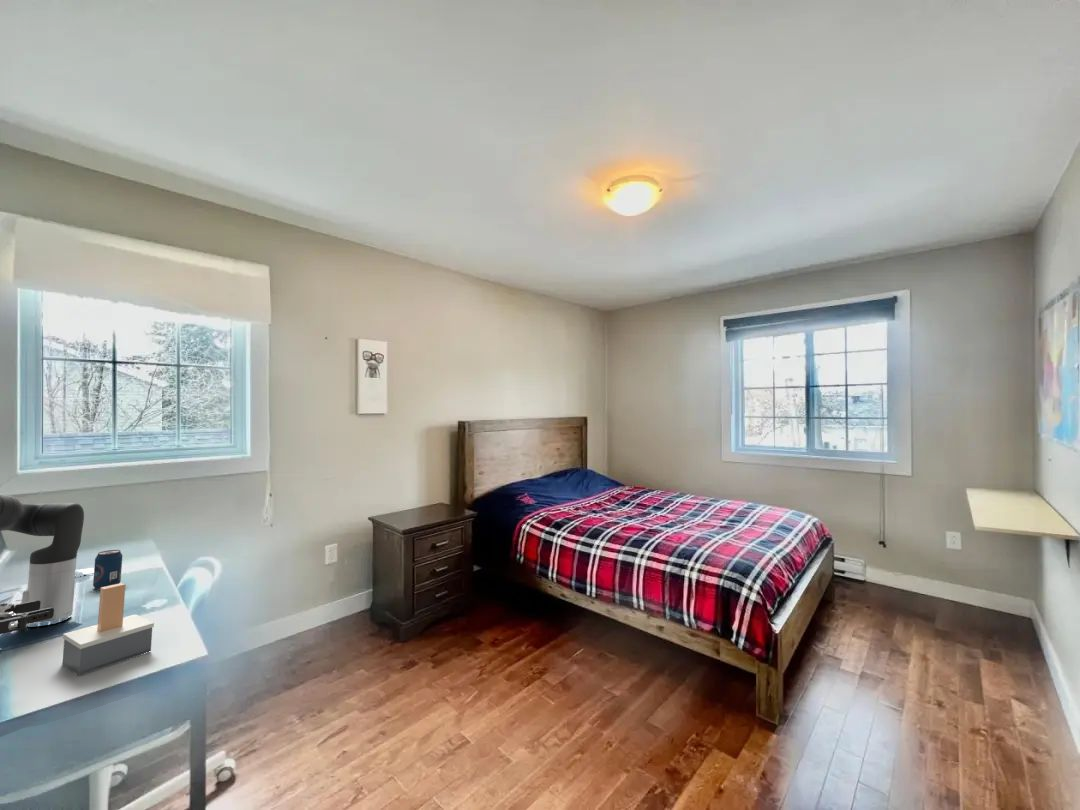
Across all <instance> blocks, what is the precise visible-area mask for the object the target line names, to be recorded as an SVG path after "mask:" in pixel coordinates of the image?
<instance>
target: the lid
mask: <svg viewBox="0 0 1080 810" xmlns="http://www.w3.org/2000/svg"><path fill="white" fill-rule="evenodd" d="M125 593H126V583H123V582H120V583H119V584H115V585H110V586H106V587H101V588H100V590H99V601H98V603H99V604H98V617H97V618H98V619H97V624H93V625H91V626H87V627H84V628H79V629H76V630H73V631H69V632H65V633H63V635H62V639H63V640H64V639H65V640H67V641H68V642H70V643H71V644H73V645H74V646H76V647H78V648H79V649H82V648H86V647H89V646H92V645H96V644H99V643H102V642H106V641H109V640H112V639H116V638H119V637H122V636H126V635H129V634H132V633H136V632H139V631H142V630H146V629H149V628H152V629H153V628H154V627H155V622H154V621H151V620H149V619H146V618H144V617H142V616H140V615H138V614H136V613H135V614H131V615H128V616H127V615H126V616H124V613H125V612H124V608H125Z"/></svg>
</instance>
